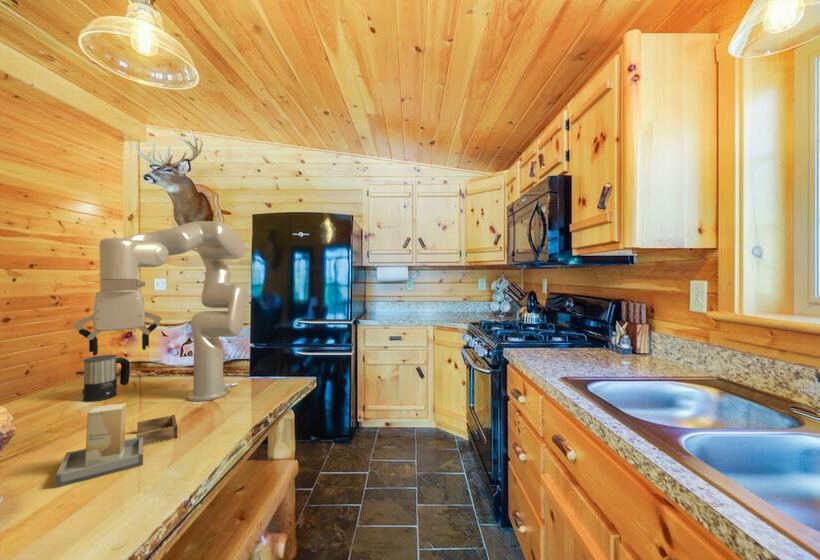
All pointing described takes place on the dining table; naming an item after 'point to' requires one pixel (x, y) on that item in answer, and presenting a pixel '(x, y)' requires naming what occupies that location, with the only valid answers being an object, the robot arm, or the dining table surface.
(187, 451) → the dining table surface
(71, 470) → the tray
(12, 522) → the dining table surface
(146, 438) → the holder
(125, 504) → the dining table surface
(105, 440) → the skincare box
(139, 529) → the dining table surface
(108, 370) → the milk frother
